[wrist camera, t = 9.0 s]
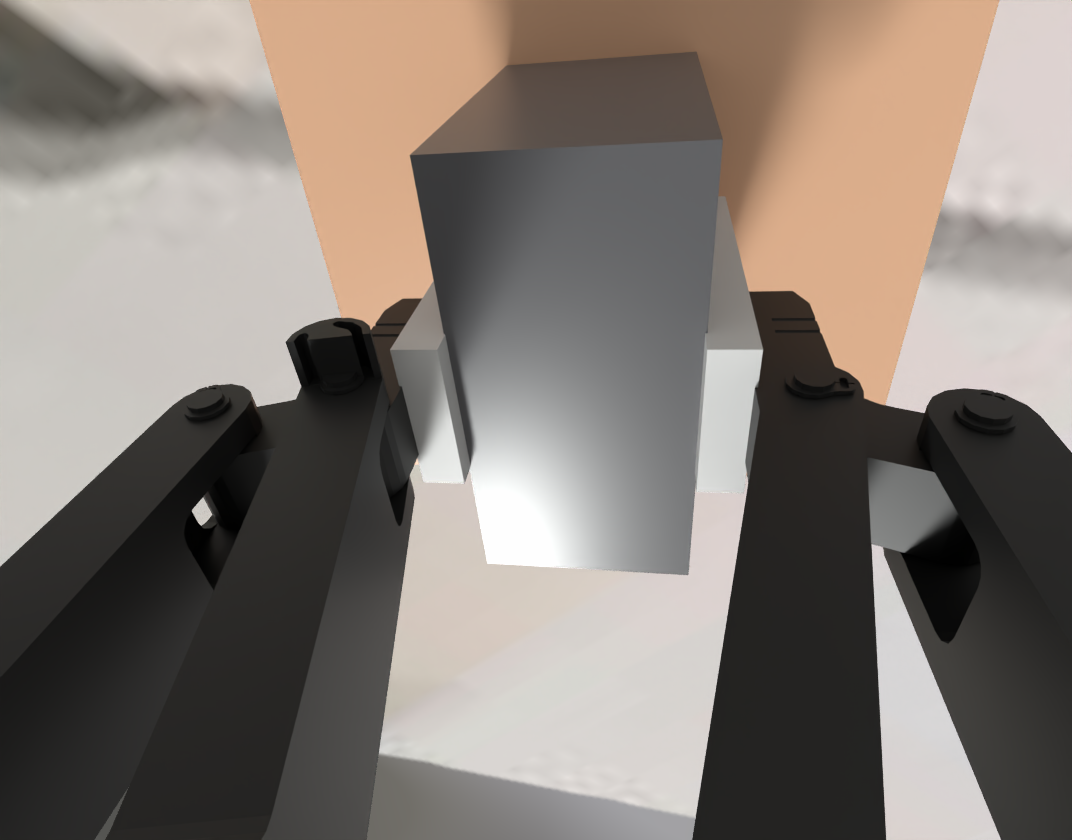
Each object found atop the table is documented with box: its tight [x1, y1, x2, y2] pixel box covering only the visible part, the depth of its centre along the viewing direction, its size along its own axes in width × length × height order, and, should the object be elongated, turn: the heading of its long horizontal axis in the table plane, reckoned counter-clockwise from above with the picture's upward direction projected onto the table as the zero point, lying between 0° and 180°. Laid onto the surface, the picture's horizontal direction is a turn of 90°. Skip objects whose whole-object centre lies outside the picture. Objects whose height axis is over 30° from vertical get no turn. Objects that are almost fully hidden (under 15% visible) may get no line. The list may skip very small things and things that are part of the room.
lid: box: [249, 0, 999, 575], centre depth 14 cm, size 15×15×8 cm
